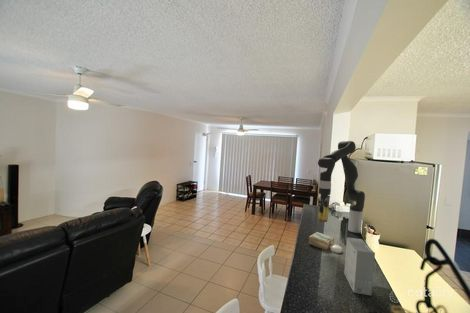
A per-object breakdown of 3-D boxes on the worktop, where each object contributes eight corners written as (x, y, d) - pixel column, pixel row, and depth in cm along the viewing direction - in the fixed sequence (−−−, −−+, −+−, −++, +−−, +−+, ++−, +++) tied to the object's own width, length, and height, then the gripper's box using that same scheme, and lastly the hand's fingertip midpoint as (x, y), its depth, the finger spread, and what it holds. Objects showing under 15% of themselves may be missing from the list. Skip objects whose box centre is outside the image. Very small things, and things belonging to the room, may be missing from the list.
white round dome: (332, 246, 142) (332, 243, 142) (343, 250, 138) (343, 247, 137) (328, 250, 138) (328, 246, 137) (339, 254, 133) (339, 250, 132)
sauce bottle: (316, 219, 147) (318, 191, 146) (324, 219, 148) (326, 191, 147) (320, 222, 141) (322, 193, 140) (329, 222, 142) (331, 193, 140)
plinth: (316, 238, 154) (316, 231, 153) (333, 244, 145) (334, 236, 145) (308, 243, 145) (309, 235, 145) (326, 250, 137) (326, 242, 137)
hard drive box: (372, 296, 95) (375, 253, 94) (353, 293, 97) (356, 251, 96) (359, 275, 110) (362, 238, 109) (343, 273, 112) (346, 236, 111)
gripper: (323, 185, 151) (322, 208, 152) (314, 187, 141) (313, 212, 142) (334, 186, 146) (333, 210, 146) (326, 189, 135) (324, 215, 136)
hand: (323, 211), depth 144 cm, fingers closed on sauce bottle, 6 cm apart
